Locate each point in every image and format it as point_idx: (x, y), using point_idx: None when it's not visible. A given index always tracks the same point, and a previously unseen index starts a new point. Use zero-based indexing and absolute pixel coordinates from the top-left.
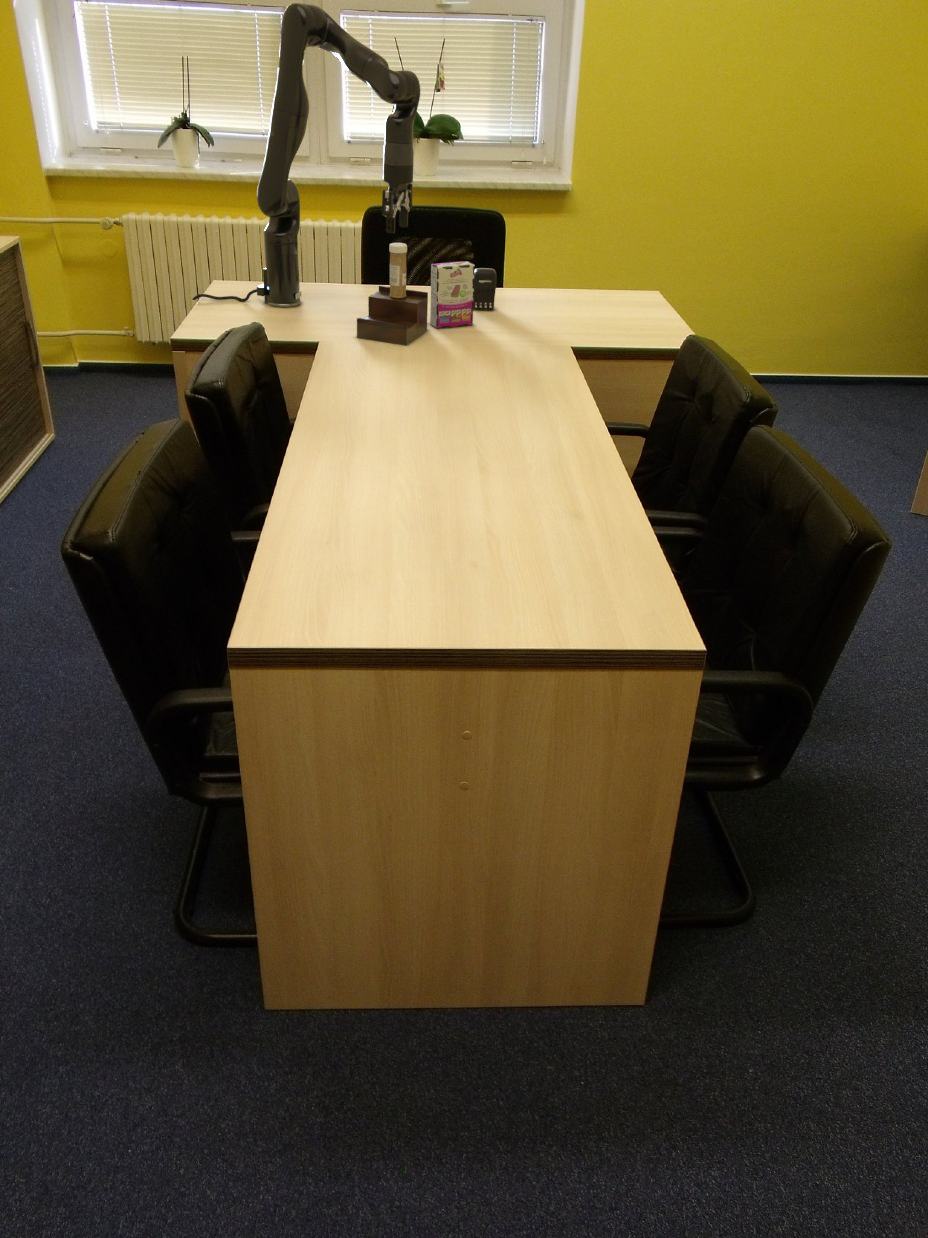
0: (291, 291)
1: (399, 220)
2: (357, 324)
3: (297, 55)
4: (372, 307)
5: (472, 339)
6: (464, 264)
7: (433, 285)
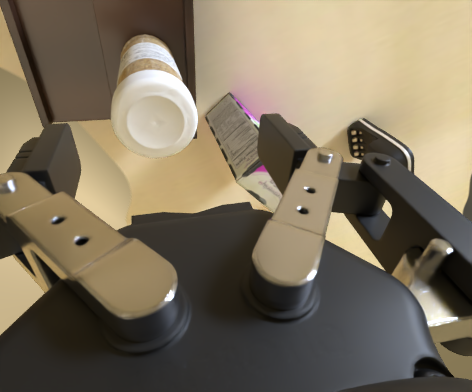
0: None
1: (272, 126)
2: None
3: None
4: None
5: (176, 192)
6: None
7: (239, 138)
